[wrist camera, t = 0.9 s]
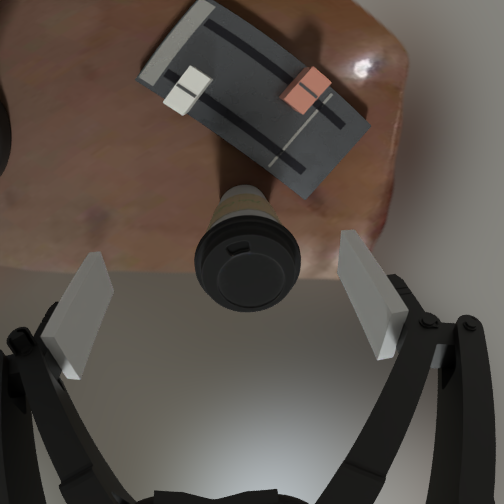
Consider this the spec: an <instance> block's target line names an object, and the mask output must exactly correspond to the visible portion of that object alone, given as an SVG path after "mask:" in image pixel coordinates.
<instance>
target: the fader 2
mask: <svg viewBox="0 0 504 504" xmlns="http://www.w3.org/2000/svg"><path fill="white" fill-rule="evenodd" d="M331 83H332V82H331V81H330V80H329V79H327V78H326V77H325V76H324V75H323V74H322V73H320V72H319V71H318V70H317V69H316V68H315V67H313V66H312V67H306V68H304V69H303V70H302V71H301V72H300V73H299V74H298V75H297V77H296V78H295V79H294V80H293V81H292V82H291V83H290V84H289V86H288V87H287V88H286V89H285V90H284V91H283V92H282V94H281V95H280V96H279V98H280V99H282V100H283V101H284V102H285V103H287V104H288V105H289V106H290V107H292V108H293V109H294V110H295V111H297V112H299V113H301V114H304V113H305V112H306V111H307V110H308V109H309V108H310V106H311V105H312V104H313V103H314V102H315V101H316V100H317V99H318V97H319V96H320V95H321V94H322V93H323V92H324V91H325V90H326V88H327V87H328V86H329V85H330V84H331Z"/></svg>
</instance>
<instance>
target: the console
mask: <svg viewBox="0 0 504 504" xmlns="http://www.w3.org/2000/svg"><path fill="white" fill-rule="evenodd" d="M189 66H193V67H196V68H197V69H199V70H200V71H202V72H203V73H205V74H206V75H208V76H209V77H211V78H212V79H213V81H212V82H211V83H210V84H209V86H208V87H207V88H206V89H205V91H204V92H203V93H202V95H201V96H200V97H199V99H198V100H197V101H196V103H195V104H194V105H193V107H192V108H191V109H190V111H189V112H188V113H187V114H188V115H190V116H191V117H193V118H194V119H196V120H197V121H199V122H200V123H202V124H203V125H204V126H206V127H207V128H209V129H210V130H212V131H213V132H215V133H216V134H217V135H219V136H220V137H222V138H223V139H224V140H226V141H227V142H229V143H230V144H231V145H233V146H234V147H236V148H237V149H238V150H240V151H241V152H243V153H244V154H245V155H247V156H248V157H249V158H251V159H252V160H253V161H255V162H256V163H258V164H259V165H260V166H262V167H263V168H264V169H266V170H267V171H268V172H270V173H271V174H272V175H274V176H275V177H276V178H277V179H279V180H280V181H281V182H283V183H284V184H285V185H287V186H288V187H289V188H290V189H292V190H293V191H294V192H296V193H297V194H298V195H299V196H301V197H302V198H303V199H304V200H306V199H307V198H308V196H309V195H310V194H311V193H312V192H313V191H314V190H315V189H316V188H317V186H318V185H319V184H320V183H321V182H322V181H323V180H324V179H325V178H326V176H327V175H328V174H329V173H330V172H331V171H332V170H333V169H334V167H335V166H336V165H337V164H338V163H339V162H340V161H341V160H342V158H343V157H344V156H345V155H346V154H347V153H348V152H349V151H350V150H351V148H352V147H353V146H354V145H355V144H356V143H357V142H358V141H359V139H360V138H361V137H362V136H363V135H364V134H365V133H366V132H367V130H368V129H369V128H370V127H371V125H370V124H369V123H368V122H367V121H366V120H365V119H364V118H363V117H362V116H361V115H360V114H359V113H358V112H357V111H356V110H355V109H354V108H353V107H352V106H351V105H350V104H349V103H347V102H346V101H345V100H344V99H343V98H342V97H341V96H340V95H339V94H338V93H337V92H336V91H334V90H333V89H332V88H331V87H330V86H328V87H327V88H326V90H325V91H324V92H323V93H322V94H321V95H320V96H319V97H318V99H317V100H316V101H315V102H314V103H313V104H312V105H311V106H310V108H309V109H308V110H307V111H306V112H305V113H304V114H301V113H299V112H297V111H295V110H294V109H293V108H292V107H290V106H289V105H288V104H287V103H285V102H284V101H283V100H282V99H280V98H279V96H280V95H281V94H282V92H283V91H284V90H285V89H286V88H287V87H288V86H289V84H290V83H291V82H292V81H293V80H294V79H295V78H296V77H297V75H298V74H299V73H300V72H301V71H302V70H303V69H304V68H306V67H307V66H305V65H304V64H303V63H302V62H300V61H299V60H298V59H297V58H295V57H294V56H293V55H292V54H290V53H289V52H288V51H287V50H285V49H284V48H283V47H281V46H280V45H279V44H277V43H276V42H275V41H273V40H272V39H271V38H269V37H268V36H266V35H265V34H264V33H262V32H261V31H259V30H258V29H257V28H255V27H254V26H252V25H251V24H249V23H248V22H246V21H245V20H243V19H242V18H240V17H239V16H237V15H236V14H234V13H233V12H231V11H230V10H228V9H226V8H225V7H223V6H222V5H220V4H218V3H217V2H215V1H213V0H197V1H196V2H195V3H194V4H193V5H192V6H191V7H190V8H189V10H188V11H187V12H186V13H185V14H184V15H183V17H182V18H181V19H180V20H179V21H178V23H177V24H176V25H175V26H174V28H173V29H172V30H171V31H170V33H169V34H168V35H167V36H166V38H165V39H164V40H163V42H162V43H161V44H160V46H159V47H158V48H157V50H156V51H155V52H154V54H153V55H152V56H151V58H150V59H149V61H148V62H147V63H146V65H145V66H144V68H143V69H142V70H141V72H140V73H139V75H138V76H137V78H136V79H135V80H136V81H137V82H139V83H140V84H142V85H144V86H145V87H147V88H148V89H150V90H151V91H153V92H155V93H156V94H158V95H159V96H161V97H162V98H164V99H166V97H167V96H168V94H169V93H170V92H171V90H172V89H173V87H174V86H175V85H176V83H177V82H178V81H179V79H180V78H181V77H182V75H183V74H184V73H185V71H186V70H187V69H188V67H189Z"/></svg>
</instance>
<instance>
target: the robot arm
mask: <svg viewBox="0 0 504 504" xmlns="http://www.w3.org/2000/svg"><path fill="white" fill-rule="evenodd" d="M10 147H11V131H10V124H9V120H8V116H7V113H6V110H5V108H4V106H3V104H2V103H1V101H0V176H1V175H2V173H3V171H4V170H5V167H6V165H7V162H8V159H9V154H10ZM337 274H338V276H339V278H340V280H341V282H342V284H343V286H344V288H345V290H346V292H347V294H348V296H349V298H350V301H351V303H352V305H353V307H354V309H355V312H356V314H357V316H358V318H359V320H360V322H361V325H362V327H363V329H364V331H365V334H366V336H367V338H368V340H369V343H370V345H371V347H372V349H373V352H374V354H375V356H376V359H377V360H382V359H386V358H391V357H393V355H394V353H395V350H396V349H397V350H398V353H399V355H398V357H397V360H396V362H395V364H394V367H393V369H392V371H391V373H390V375H389V378H388V380H387V382H386V384H385V386H384V388H383V390H382V393H381V394H380V396H379V398H378V400H377V402H376V404H375V406H374V408H373V410H372V412H371V414H370V416H369V418H368V420H367V422H366V423H365V425H364V427H363V429H362V431H361V433H360V434H359V436H358V438H357V440H356V442H355V443H354V445H353V447H352V448H351V450H350V452H349V453H348V455H347V457H346V458H345V460H344V461H343V463H342V464H341V466H340V467H339V469H338V470H337V472H336V474H335V475H334V477H333V478H332V480H331V481H330V483H329V484H328V486H327V487H326V489H325V490H324V491H323V493H322V494H321V496H320V497H319V499H318V500H317V502H316V503H315V504H373V503H374V502H375V500H376V498H377V496H378V494H379V493H380V491H381V489H382V487H383V485H384V483H385V480H386V474H387V472H388V470H389V468H390V466H391V464H392V462H393V460H394V458H395V456H396V454H397V452H398V449H399V447H400V445H401V443H402V441H403V438H404V436H405V434H406V431H407V429H408V427H409V424H410V422H411V419H412V417H413V414H414V412H415V409H416V406H417V404H418V401H419V398H420V396H421V393H422V390H423V387H424V384H425V381H426V378H427V375H428V372H429V369H430V368H438V398H437V419H436V433H435V444H434V453H433V461H432V469H431V476H430V483H429V489H428V495H427V500H426V504H495V501H494V485H495V462H496V459H495V458H496V442H495V441H496V438H495V414H494V400H493V389H492V381H491V372H490V365H489V358H488V352H487V346H486V341H485V335H484V330H483V326H482V324H481V322H480V321H479V320H478V319H477V318H475V317H473V316H470V315H462V316H460V317H459V318H458V320H457V322H456V324H454V323H442V322H440V320H439V319H438V318H437V317H436V316H435V315H433V314H431V313H428V312H425V311H424V310H423V308H422V307H421V305H420V304H419V302H418V301H417V300H416V298H415V296H414V295H413V294H412V292H411V290H410V289H409V288H408V287H407V285H406V283H405V282H404V280H403V279H401V278H400V277H398V276H397V275H396V274H392V275H386V274H385V273H384V272H383V270H382V268H381V267H380V265H379V264H378V262H377V261H376V260H375V258H374V257H373V255H372V254H371V252H370V251H369V249H368V248H367V246H366V245H365V244H364V242H363V241H362V239H361V238H360V237H359V235H358V234H357V232H356V231H355V230H343V231H341V240H340V251H339V261H338V271H337ZM113 293H114V289H113V287H112V284H111V281H110V278H109V275H108V272H107V269H106V266H105V263H104V260H103V257H102V254H101V252H91V253H89V254H88V255H87V257H86V258H85V260H84V261H83V263H82V265H81V266H80V268H79V269H78V271H77V273H76V274H75V276H74V278H73V279H72V281H71V282H70V284H69V286H68V287H67V289H66V291H65V293H64V294H63V296H62V298H61V300H60V301H59V302H55V303H54V304H53V305H52V306H51V307H50V308H49V309H48V311H47V313H46V314H45V317H44V318H43V320H42V323H40V325H39V327H38V329H37V331H36V333H35V335H34V337H33V336H32V334H31V332H30V331H29V329H28V328H26V327H20V328H17V329H15V330H14V331H12V332H11V333H10V335H9V336H8V338H7V345H8V346H9V348H10V349H11V351H12V352H13V354H12V355H8V356H5V354H4V353H3V352H2V350H0V504H46V500H45V496H44V491H43V487H42V482H41V477H40V472H39V467H38V461H37V455H36V449H35V441H34V433H33V424H32V414H33V416H34V419H35V422H36V425H37V427H38V430H39V432H40V435H41V437H42V440H43V442H44V445H45V447H46V449H47V452H48V454H49V456H50V459H51V461H52V463H53V465H54V467H55V469H56V471H57V473H58V476H59V478H60V480H61V484H60V485H59V489H60V491H61V494H62V496H63V498H64V499H65V501H66V503H67V504H308V503H307V502H305V501H302V500H300V499H298V498H295V497H292V496H288V495H281V494H278V491H277V489H271V490H260V491H247V492H243V493H239V494H235V495H232V496H228V497H224V498H220V499H208V498H204V497H200V496H196V495H191V494H188V493H184V492H169V491H154V497H149V498H146V499H143V500H140V501H138V502H136V501H135V500H134V499H133V498H132V497H131V496H130V495H129V494H128V493H127V491H126V490H125V489H124V488H123V486H122V485H121V483H120V482H119V481H118V479H117V478H116V476H115V475H114V473H113V472H112V470H111V469H110V467H109V466H108V464H107V462H106V461H105V459H104V458H103V456H102V455H101V453H100V451H99V450H98V448H97V446H96V445H95V443H94V441H93V439H92V438H91V436H90V434H89V433H88V431H87V429H86V427H85V425H84V423H83V422H82V420H81V418H80V416H79V414H78V412H77V410H76V408H75V406H74V404H73V402H72V400H71V398H70V396H69V394H68V392H67V390H66V388H65V386H64V384H63V381H62V380H61V378H60V377H59V376H60V374H61V371H62V372H63V373H64V374H65V376H66V377H67V378H68V379H79V380H80V379H81V377H82V374H83V371H84V368H85V365H86V362H87V359H88V356H89V354H90V351H91V348H92V346H93V343H94V340H95V338H96V335H97V332H98V330H99V327H100V325H101V322H102V319H103V317H104V315H105V312H106V310H107V307H108V305H109V302H110V300H111V298H112V295H113ZM31 411H32V413H31Z"/></svg>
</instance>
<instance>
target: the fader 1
mask: <svg viewBox="0 0 504 504" xmlns="http://www.w3.org/2000/svg"><path fill="white" fill-rule="evenodd" d="M212 81H213V79H212V78H211V77H209V76H208V75H206V74H205V73H203V72H202V71H200V70H199V69H197V68H196V67H193V66H189V67H188V69H187V70H186V71H185V73H184V74H183V75H182V77H181V78H180V79H179V81H178V82H177V83H176V85H175V86H174V87H173V89H172V90H171V92H170V93H169V94H168V96H167V97H166V99H165V100H164V101H163V103H164V104H166V105H167V106H169V107H170V108H172V109H173V110H175V111H176V112H178V113H179V114H181V115H182V116H183V115H185V114H186V113H188V112H189V111H190V109H191V108H192V107H193V105H194V104H195V103H196V101H197V100H198V99H199V97H200V96H201V95H202V93H203V92H204V91H205V89H206V88H207V87H208V86H209V84H210V83H211V82H212Z"/></svg>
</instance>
